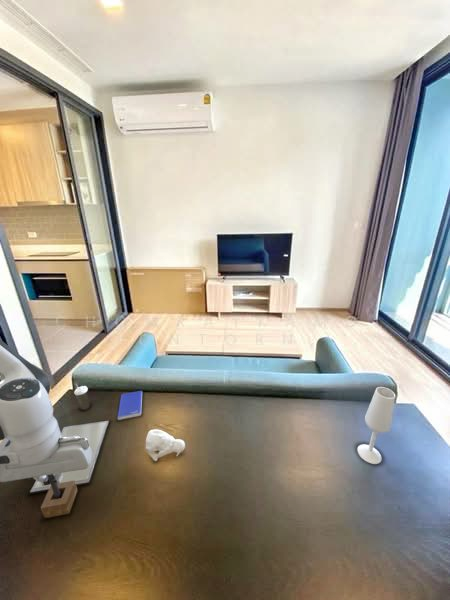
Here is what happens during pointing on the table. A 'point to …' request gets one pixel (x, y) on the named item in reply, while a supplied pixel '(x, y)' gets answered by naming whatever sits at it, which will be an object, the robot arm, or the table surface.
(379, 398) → the champagne flute
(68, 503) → the stand
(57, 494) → the stylus
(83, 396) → the milkshake
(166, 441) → the white animal figurine
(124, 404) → the hard drive
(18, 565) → the table surface
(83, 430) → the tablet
